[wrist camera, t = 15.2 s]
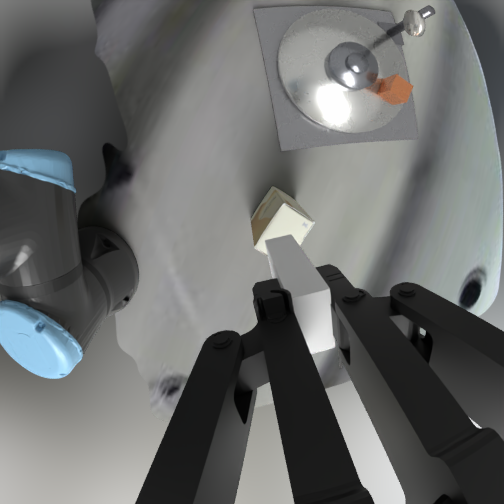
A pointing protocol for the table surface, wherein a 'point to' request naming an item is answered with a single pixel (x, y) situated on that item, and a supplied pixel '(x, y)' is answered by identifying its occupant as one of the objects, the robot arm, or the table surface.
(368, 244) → the table surface
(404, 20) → the post
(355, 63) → the cover
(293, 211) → the skincare box
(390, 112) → the platter
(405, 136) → the turntable base
